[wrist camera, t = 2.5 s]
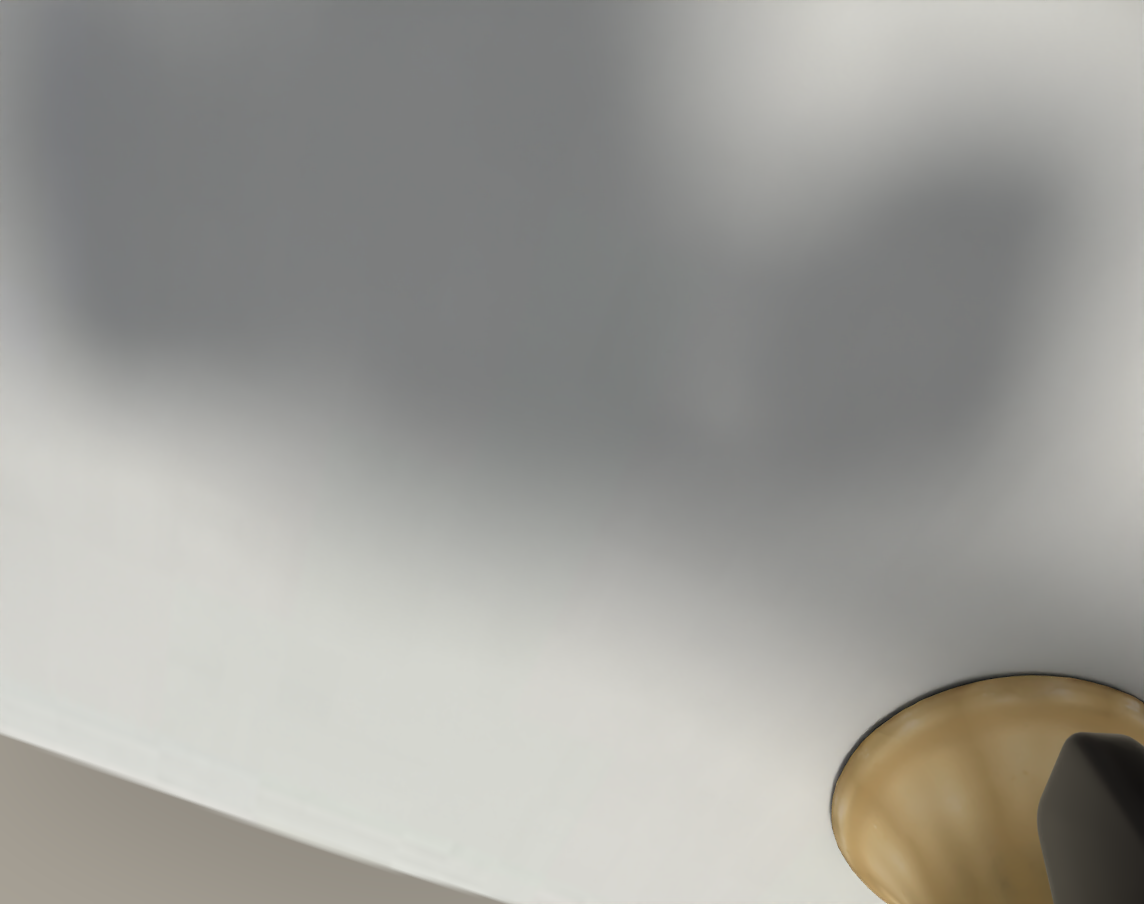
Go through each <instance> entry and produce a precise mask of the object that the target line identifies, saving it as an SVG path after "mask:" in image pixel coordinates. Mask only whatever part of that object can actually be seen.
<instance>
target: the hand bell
mask: <svg viewBox="0 0 1144 904" xmlns="http://www.w3.org/2000/svg"><path fill="white" fill-rule="evenodd" d="M1078 732H1092V733H1113V734H1123V735H1126V736H1129V737H1131V738H1133V739H1135V740H1136V741H1138V742H1139V743H1140V744H1142V745H1143V746H1144V703H1143V702H1141V701H1140V700H1138V699H1137V698H1135V697H1134V696H1131V695H1129V694H1126V693H1124V692H1121V691H1119V690H1116V689H1113V688H1111V687H1108V686H1104V685H1100V684H1097V683H1093V682H1089V681H1084V680H1080V679H1075V678H1068V677H1056V676H1038V675H1027V676H1011V677H1002V678H995V679H989V680H984V681H978V682H974V683H971V684H967V685H963V686H959V687H956V688H952V689H949V690H946V691H943V692H941V693H938V694H936V695H933V696H931V697H928V698H926V699H923V700H921V701H919V702H917V703H916V704H914V705H912V706H910V707H908V708H906V709H904V710H902V711H901V712H900V713H898V714H897V715H895V716H893V717H892V718H891V719H889V720H888V721H887V722H885V723H884V724H882V725H881V726H879V727H878V728H877V729H876V730H874V731H873V732H872V733H871V734H870V735H869V736H868V737H867V738H866V739H865V740H864V741H863V742H862V743H861V744H860V745H859V746H858V748H857V749H856V750H855V752H854V753H853V754H852V756H851V757H850V759H849V761H848V762H847V764H846V766H845V767H844V769H843V771H842V773H841V775H840V777H839V779H838V781H837V783H836V787H835V791H834V794H833V800H832V814H831V818H832V828H833V832H834V835H835V839H836V842H837V844H838V847H839V849H840V851H841V853H842V855H843V856H844V858H845V859H846V861H847V863H848V864H849V866H850V867H851V869H852V870H853V871H854V872H855V874H856V875H857V876H858V877H859V878H860V879H861V881H862V882H863V883H864V884H865V885H866V886H867V887H868V888H869V889H870V890H871V891H872V892H874V893H875V894H876V895H877V896H878V897H879V898H880V899H882V900H883V901H885V902H886V903H888V904H1054V903H1053V898H1052V894H1051V890H1050V885H1049V881H1048V876H1047V872H1046V867H1045V863H1044V858H1043V854H1042V849H1041V845H1040V840H1039V836H1038V829H1037V810H1038V805H1039V801H1040V798H1041V796H1042V793H1043V791H1044V789H1045V786H1046V784H1047V782H1048V779H1049V777H1050V775H1051V772H1052V770H1053V767H1054V765H1055V763H1056V760H1057V758H1058V756H1059V753H1060V751H1061V749H1062V746H1063V744H1064V743H1065V741H1066V739H1067V738H1069V737H1070V736H1071V735H1072V734H1074V733H1078Z"/></svg>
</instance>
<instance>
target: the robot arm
mask: <svg viewBox="0 0 1144 904" xmlns="http://www.w3.org/2000/svg"><path fill="white" fill-rule="evenodd" d="M1037 829H1038V836H1039V840H1040V845H1041V849H1042V854H1043V858H1044V863H1045V867H1046V872H1047V876H1048V881H1049V885H1050V890H1051V894H1052V898H1053V903H1054V904H1144V746H1143V745H1142V744H1140V743H1139V742H1138V741H1136V740H1135V739H1133V738H1131V737H1129V736H1126V735H1123V734H1113V733H1092V732H1078V733H1074V734H1072V735H1071V736H1070V737H1069V738H1067V739H1066V741H1065V743H1064V744H1063V746H1062V749H1061V751H1060V753H1059V756H1058V758H1057V760H1056V763H1055V765H1054V767H1053V770H1052V772H1051V775H1050V777H1049V779H1048V782H1047V784H1046V786H1045V789H1044V791H1043V793H1042V796H1041V798H1040V801H1039V805H1038V810H1037Z"/></svg>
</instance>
